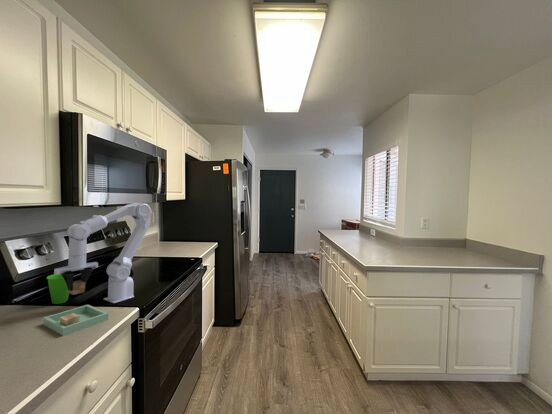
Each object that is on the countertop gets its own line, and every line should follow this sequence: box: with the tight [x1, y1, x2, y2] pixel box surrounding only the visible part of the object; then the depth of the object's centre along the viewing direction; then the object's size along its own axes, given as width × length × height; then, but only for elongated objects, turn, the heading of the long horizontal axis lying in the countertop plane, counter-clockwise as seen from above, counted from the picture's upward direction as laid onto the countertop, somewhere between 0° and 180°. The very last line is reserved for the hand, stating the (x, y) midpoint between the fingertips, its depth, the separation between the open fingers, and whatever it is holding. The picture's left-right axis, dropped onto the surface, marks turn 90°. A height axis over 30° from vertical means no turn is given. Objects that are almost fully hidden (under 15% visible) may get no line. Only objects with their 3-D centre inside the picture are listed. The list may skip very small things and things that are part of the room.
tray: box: [42, 304, 109, 337], centre depth 95 cm, size 14×14×3 cm
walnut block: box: [68, 279, 86, 296], centre depth 106 cm, size 4×4×4 cm
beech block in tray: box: [60, 313, 79, 326], centre depth 90 cm, size 4×4×4 cm
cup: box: [46, 273, 70, 305], centre depth 113 cm, size 9×9×11 cm
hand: (76, 288), depth 106 cm, fingers closed on walnut block, 4 cm apart
